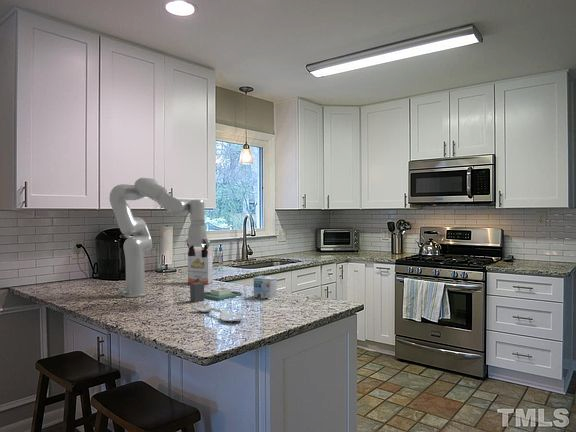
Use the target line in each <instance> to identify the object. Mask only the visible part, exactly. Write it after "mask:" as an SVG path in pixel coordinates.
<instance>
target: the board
mask: <svg viewBox="0 0 576 432" xmlns="http://www.w3.org/2000/svg"><path fill="white" fill-rule="evenodd" d="M241 295H242V296H243V292H241V291H236V290H234V291H232V288H231V287H225V286H219V287H215V288H211V289H210V291H204V299H207V300H212V299H213V301H217V300H222V301H225V300H224V299H227V300H230V299H229V298H231V299H233V298H232V297H235V298H237V297H236V296H239V297H242V296H241Z"/></svg>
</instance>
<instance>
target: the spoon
mask: <svg viewBox="0 0 576 432" xmlns="http://www.w3.org/2000/svg"><path fill="white" fill-rule="evenodd" d="M190 307H191V308H192V309H194V310H196V311H199V312H202V313H209V312H212V311H213V312H217V313H220V315H219V318H220V320H221V321H223V322H226V321H237V322H239V321H243V320H244V319H245V316H242V315H236V314H233V313H229V312H225V311H223V310H222V309H221V308H215V307H212V306H211V305H210V303H209V302H206V303H204V304H202V305H199V306H198V305H190ZM230 317H238V319H233V320H226V318H230Z"/></svg>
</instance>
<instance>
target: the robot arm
mask: <svg viewBox="0 0 576 432" xmlns="http://www.w3.org/2000/svg"><path fill="white" fill-rule="evenodd" d="M143 198H148V199H151V201H154V202H156V203H157V204H158V205H159V206H160V207H161V208H163V209H164V210H166V211H168V212H170V213H172V214H175V215H188V214H189V226H188V230H187V231H188V232H187V239H186V240H185V242H186V246H187V248H188V250H189V256H194V255H195V250H194V249H195V248H194V247H201V248H200V249H203V250H201V251H202V258H204V257H207V250H209V247H210V243H211V241H210V240H209V239H208V238H207V237H208V236H207V229H206V224H205V223H206V216H205V212H206V211H205V201H204V200H203V199H180V198H179V199H178V198H176V197H174V196H172V195H170V194H169V193H168V190H167V189H166V188H165V187H164V186H162V185H160V184H159V183H158V181H157V180H156V179H154V178H148V177H139V178H138V179H136V180H135V181H134V184H126V183H125V184H122V183H121V184H117V185H115V186H113V187H112V188H111V190H110V192H109V203H110V206H111V208H112V211H113V213H114V216H115V219H116V221H117V224H118V227H119V230H120V232H121V234H123V235H125V236H131V237H128V238H127V239H125V240H124V243H123V251H124V253H123V254H124V257H125V261H124V262H125V286H124V287H123V288H122V289H117V290H116V294H117V295H122V296H123V297H124V298H139V297H145V296H147V295H148V293H149V292H148V291H146V289H145V287H146V285H145V279H146V278H145V258H144V255H143V253H147V252H149V251H151V250H152V248H153V239H152V236H151V234H150V231H149V228H148V225H147V223H146V221H145V220H144V219H143V218H141V217H140V216H139V217H138V216H134V214H133V212H132V208H131V207H130V205H129V204H128V203H127V201H136V200H137V201H138V200H141V199H143Z"/></svg>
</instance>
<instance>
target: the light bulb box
mask: <svg viewBox="0 0 576 432" xmlns="http://www.w3.org/2000/svg"><path fill="white" fill-rule="evenodd" d="M277 280H278V279H277V276H268V275H257V276H254V277H253V298H255V297H260V298H259V299H262V298H273V297H276V296H277V295H278V292H277V288H278V285H277V283H278V281H277ZM276 298H277V297H276ZM273 299H274V298H273Z"/></svg>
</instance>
